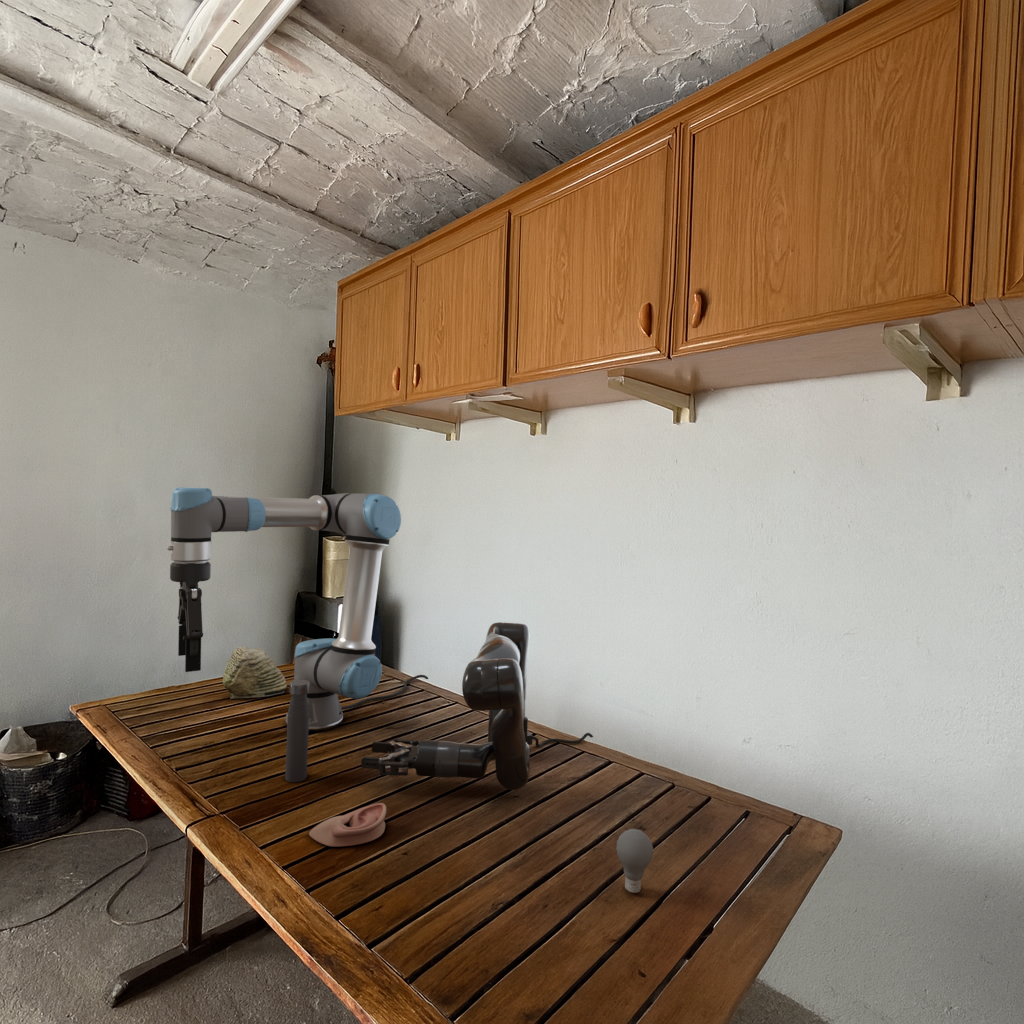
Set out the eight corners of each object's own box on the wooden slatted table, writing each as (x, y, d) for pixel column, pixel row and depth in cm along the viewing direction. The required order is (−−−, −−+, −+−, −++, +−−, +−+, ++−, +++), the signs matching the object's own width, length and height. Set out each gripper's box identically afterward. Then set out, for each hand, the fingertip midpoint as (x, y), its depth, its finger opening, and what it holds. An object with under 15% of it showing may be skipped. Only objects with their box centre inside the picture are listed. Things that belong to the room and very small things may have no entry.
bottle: (281, 777, 142) (285, 683, 142) (300, 771, 145) (304, 680, 145) (290, 784, 139) (294, 688, 139) (310, 778, 142) (313, 684, 142)
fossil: (218, 695, 195) (220, 647, 195) (278, 685, 208) (279, 640, 207) (228, 703, 189) (230, 653, 188) (289, 692, 201) (290, 645, 201)
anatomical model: (301, 820, 116) (331, 792, 127) (300, 842, 116) (330, 812, 127) (368, 831, 113) (393, 801, 124) (368, 853, 113) (392, 821, 124)
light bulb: (610, 879, 108) (613, 822, 108) (644, 879, 109) (647, 822, 109) (619, 902, 102) (622, 840, 102) (655, 901, 103) (658, 840, 103)
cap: (285, 691, 142) (285, 681, 142) (303, 688, 145) (304, 678, 145) (294, 696, 139) (294, 686, 139) (312, 692, 142) (313, 683, 142)
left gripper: (165, 555, 140) (163, 650, 141) (176, 569, 119) (174, 681, 120) (202, 554, 144) (200, 647, 145) (219, 568, 123) (217, 675, 124)
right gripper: (444, 730, 147) (375, 726, 148) (435, 755, 133) (358, 750, 133) (443, 762, 147) (374, 758, 148) (433, 790, 133) (357, 785, 134)
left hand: (189, 662), depth 133 cm, fingers open, 13 cm apart
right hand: (367, 754), depth 141 cm, fingers open, 8 cm apart
